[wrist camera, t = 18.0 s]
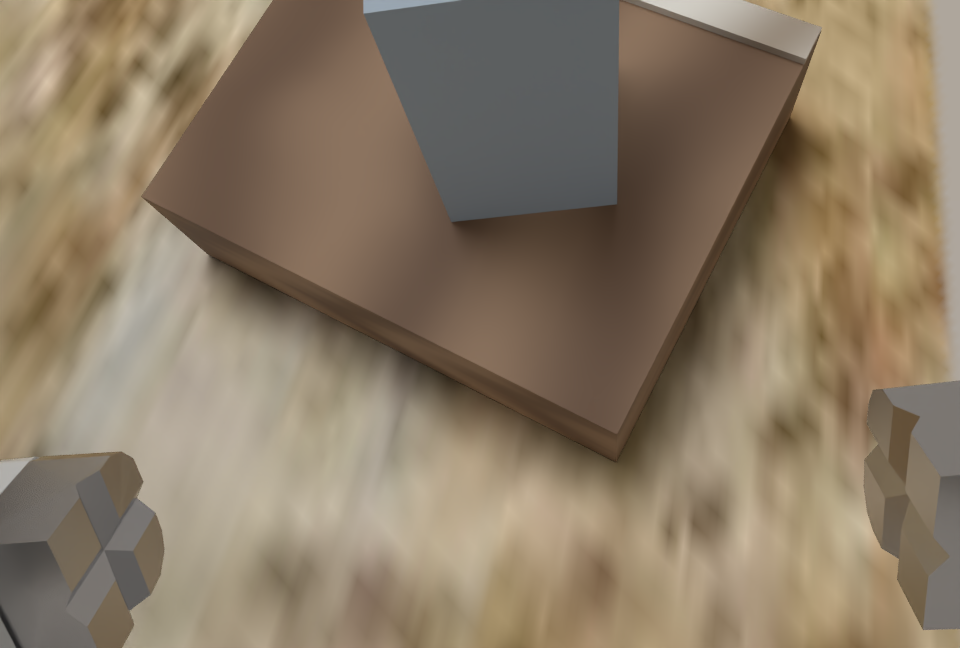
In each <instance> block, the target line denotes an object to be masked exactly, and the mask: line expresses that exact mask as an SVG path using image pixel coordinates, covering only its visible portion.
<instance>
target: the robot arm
mask: <svg viewBox="0 0 960 648" xmlns="http://www.w3.org/2000/svg"><path fill="white" fill-rule="evenodd" d="M867 425H868V427H869V429H870V431H871V432H872V434H873V436H874V438H875V439H876V441H877V443H878V445H877V446H876V447H875V448H874V449H873V450H872V452H871V453H870V454H869V455H868V456H867V457H866V458H865V460H864V493H865V500H866V508H867V513H868V516H869V519H870V523H871V526H872V529H873V532H874V534H875V536H876V538H877V540H878V542H879V544H880V546H881V548H882V549H884V550H885V551H887V552H889V553H890V554H892V555H893V556H895V557H897V558H898V559H899V564H898V576H897V580H898V582H899V584H900V586H901V588H902V590H903V592H904V594H905V596H906V598H907V600H908V602H909V604H910V606H911V608H912V610H913V612H914V613H915V615H916V617H917V619H918V621H919V623H920V625H921V627H922V629H923V630H935V629H960V381H952V382H943V383H933V384H924V385H914V386H905V387H895V388H886V389H876V390H873V391H872V394H871V397H870V401H869V404H868V416H867ZM142 484H143V480H142V477H141V475H140V473H139V471H138V468H137V466H136V464H135V461H134V459H133V458H132V457H130V456H128V455H126V454H125V453H123V452H107V453H91V454H75V455H59V456H43V457H40V458H39V457H27V458H17V459H7V460H1V461H0V648H122V647H123V645H124V643H125V641H126V639H127V638H128V636H129V634H130V632H131V630H132V628H133V627H134V622H133V619H132V617H131V614H130V610H131V609H132V608H133V607H135V606H136V605H137V604H139V603H140V602H141V601H143V600H144V599H145V598H147V597H148V596H149V595H151V593H152V591H153V589H154V587H155V585H156V583H157V581H158V579H159V577H160V575H161V569H162V562H163V556H164V543H163V535H162V529H161V527H160V524H159V521H158V518H157V516H156V513H155V512H154V511H152V510H151V509H150V508H149V507H147V506H146V505H145V504H143V503H142V502H141V501H140V500H138V499H137V496H138V494H139V491H140V489H141V487H142Z"/></svg>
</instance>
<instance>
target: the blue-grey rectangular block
mask: <svg viewBox="0 0 960 648" xmlns="http://www.w3.org/2000/svg"><path fill="white" fill-rule="evenodd" d="M363 14H364V16H365V18H366V21H367V23H368V26H369V28H370V30H371V33H372V35H373V37H374V40H375V42H376V45H377V47H378V49H379V52H380V54H381V56H382V59H383V61H384V64H385V66H386V68H387V71H388V73H389V75H390V78H391V80H392V83H393V85H394V87H395V90H396V92H397V94H398V97H399V99H400V102H401V104H402V106H403V109H404V111H405V113H406V116H407V118H408V121H409V123H410V125H411V128H412V130H413V132H414V135H415V137H416V140H417V142H418V144H419V147H420V149H421V151H422V154H423V156H424V159H425V161H426V163H427V166H428V168H429V170H430V173H431V175H432V178H433V180H434V182H435V185H436V187H437V189H438V192H439V194H440V197H441V199H442V201H443V204H444V206H445V208H446V211H447V213H448V216H449V218H450V220H451V222H456V221H466V220H475V219H484V218H494V217H503V216H512V215H522V214H531V213H540V212H550V211H559V210H568V209H578V208H587V207H597V206H606V205H615V204H617V166H618V75H619V0H363Z"/></svg>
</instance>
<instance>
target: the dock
mask: <svg viewBox="0 0 960 648" xmlns="http://www.w3.org/2000/svg"><path fill="white" fill-rule="evenodd" d="M821 29H822V27H819V26H816V25H813V24H810V23H808V22H805V21H802V20H799V19H796V18H793V17H790V16H787V15H784V14H781V13H778V12H775V11H772V10H770V9H767V8H764V7H761V6H758V5H755V4H752V3H749V2H746V1H743V0H619V75H618V166H617V204H615V205H606V206H597V207H587V208H578V209H568V210H559V211H550V212H540V213H531V214H522V215H512V216H503V217H494V218H484V219H475V220H466V221H456V222H451V220H450V218H449V216H448V213H447V211H446V208H445V206H444V204H443V201H442V199H441V197H440V194H439V192H438V189H437V187H436V185H435V182H434V180H433V178H432V175H431V173H430V170H429V168H428V166H427V163H426V161H425V159H424V156H423V154H422V151H421V149H420V147H419V144H418V142H417V140H416V137H415V135H414V132H413V130H412V128H411V125H410V123H409V121H408V118H407V116H406V113H405V111H404V109H403V106H402V104H401V102H400V99H399V97H398V94H397V92H396V90H395V87H394V85H393V83H392V80H391V78H390V75H389V73H388V71H387V68H386V66H385V64H384V61H383V59H382V56H381V54H380V52H379V49H378V47H377V45H376V42H375V40H374V37H373V35H372V33H371V30H370V28H369V26H368V23H367V21H366V18H365V16H364V14H363V0H273V1H272V2H271V4H270V5H269V7H268V8H267V10H266V11H265V13H264V14H263V16H262V17H261V19H260V20H259V22H258V23H257V25H256V26H255V28H254V29H253V31H252V32H251V34H250V35H249V37H248V38H247V40H246V41H245V43H244V44H243V46H242V47H241V49H240V50H239V52H238V53H237V55H236V56H235V58H234V59H233V61H232V62H231V64H230V65H229V67H228V68H227V70H226V71H225V73H224V74H223V76H222V77H221V79H220V80H219V82H218V83H217V84H216V86H215V87H214V89H213V90H212V92H211V93H210V95H209V96H208V98H207V99H206V101H205V102H204V104H203V105H202V107H201V108H200V110H199V111H198V113H197V114H196V116H195V117H194V119H193V120H192V122H191V123H190V125H189V126H188V128H187V129H186V131H185V132H184V134H183V135H182V137H181V138H180V140H179V141H178V143H177V144H176V146H175V147H174V149H173V150H172V152H171V153H170V155H169V156H168V158H167V159H166V161H165V162H164V164H163V165H162V167H161V168H160V169H159V171H158V172H157V174H156V175H155V177H154V178H153V180H152V181H151V183H150V184H149V186H148V187H147V189H146V190H145V192H144V193H143V195H142V196H141V197H142V198H144V199H145V200H146V201H147V202H148V203H149V204H150V205H152V206H153V207H154V208H155V209H156V210H157V211H159V212H160V213H161V214H162V215H163V216H164V217H165V218H167V219H168V220H169V221H170V222H171V223H172V224H174V225H175V226H176V227H177V228H178V229H179V230H180V231H182V232H183V233H184V234H185V235H186V236H187V237H189V238H190V239H191V240H192V241H193V242H194V243H195V244H197V245H198V246H199V247H200V248H201V249H202V250H204V251H205V252H206V253H207V254H208V255H210V256H212V257H214V258H216V259H218V260H220V261H222V262H224V263H226V264H228V265H230V266H232V267H234V268H236V269H238V270H240V271H242V272H244V273H246V274H247V275H249V276H251V277H253V278H255V279H257V280H259V281H261V282H263V283H265V284H267V285H269V286H271V287H273V288H275V289H277V290H279V291H281V292H283V293H285V294H287V295H289V296H291V297H293V298H295V299H297V300H299V301H300V302H302V303H304V304H306V305H308V306H310V307H312V308H314V309H316V310H318V311H320V312H322V313H324V314H326V315H328V316H330V317H332V318H334V319H336V320H338V321H340V322H342V323H344V324H346V325H348V326H350V327H351V328H353V329H355V330H357V331H359V332H361V333H363V334H365V335H367V336H369V337H371V338H373V339H375V340H377V341H379V342H381V343H383V344H385V345H387V346H389V347H391V348H393V349H395V350H397V351H399V352H401V353H403V354H404V355H406V356H408V357H410V358H412V359H414V360H416V361H418V362H420V363H422V364H424V365H426V366H428V367H430V368H432V369H434V370H436V371H438V372H440V373H442V374H444V375H446V376H448V377H450V378H452V379H454V380H456V381H457V382H459V383H461V384H463V385H465V386H467V387H469V388H471V389H473V390H475V391H477V392H479V393H481V394H483V395H485V396H487V397H489V398H491V399H493V400H495V401H497V402H499V403H501V404H503V405H505V406H507V407H508V408H510V409H512V410H514V411H516V412H518V413H520V414H522V415H524V416H526V417H528V418H530V419H532V420H534V421H536V422H538V423H540V424H542V425H544V426H546V427H548V428H550V429H552V430H554V431H556V432H558V433H560V434H561V435H563V436H565V437H567V438H569V439H571V440H573V441H575V442H577V443H579V444H581V445H583V446H585V447H587V448H589V449H591V450H593V451H595V452H597V453H599V454H601V455H603V456H605V457H607V458H609V459H611V460H613V461H614V462H617V460H618V458H619V456H620V454H621V452H622V450H623V448H624V446H625V444H626V442H627V440H628V438H629V436H630V434H631V432H632V430H633V428H634V426H635V424H636V422H637V420H638V418H639V416H640V414H641V412H642V410H643V408H644V406H645V404H646V402H647V400H648V398H649V396H650V394H651V392H652V390H653V388H654V386H655V384H656V382H657V380H658V378H659V376H660V374H661V372H662V370H663V368H664V366H665V364H666V362H667V360H668V358H669V357H670V355H671V353H672V351H673V349H674V347H675V345H676V343H677V341H678V339H679V337H680V335H681V333H682V331H683V329H684V327H685V325H686V323H687V321H688V319H689V317H690V315H691V313H692V311H693V309H694V307H695V305H696V303H697V301H698V299H699V297H700V295H701V293H702V291H703V289H704V287H705V285H706V283H707V281H708V279H709V277H710V275H711V273H712V271H713V269H714V267H715V265H716V263H717V261H718V259H719V257H720V255H721V253H722V251H723V249H724V247H725V245H726V243H727V241H728V239H729V237H730V235H731V233H732V231H733V229H734V227H735V225H736V223H737V221H738V219H739V217H740V215H741V213H742V211H743V209H744V207H745V205H746V203H747V201H748V199H749V197H750V195H751V193H752V191H753V189H754V187H755V185H756V183H757V181H758V179H759V177H760V175H761V173H762V171H763V169H764V167H765V165H766V164H767V162H768V160H769V158H770V156H771V154H772V152H773V150H774V148H775V146H776V144H777V142H778V140H779V138H780V136H781V134H782V132H783V130H784V128H785V126H786V124H787V122H788V120H789V118H790V115H791V113H792V110H793V107H794V104H795V102H796V99H797V96H798V93H799V91H800V88H801V85H802V82H803V80H804V77H805V74H806V71H807V69H808V66H809V63H810V60H811V58H812V55H813V52H814V49H815V47H816V44H817V41H818V38H819V36H820V33H821Z"/></svg>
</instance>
